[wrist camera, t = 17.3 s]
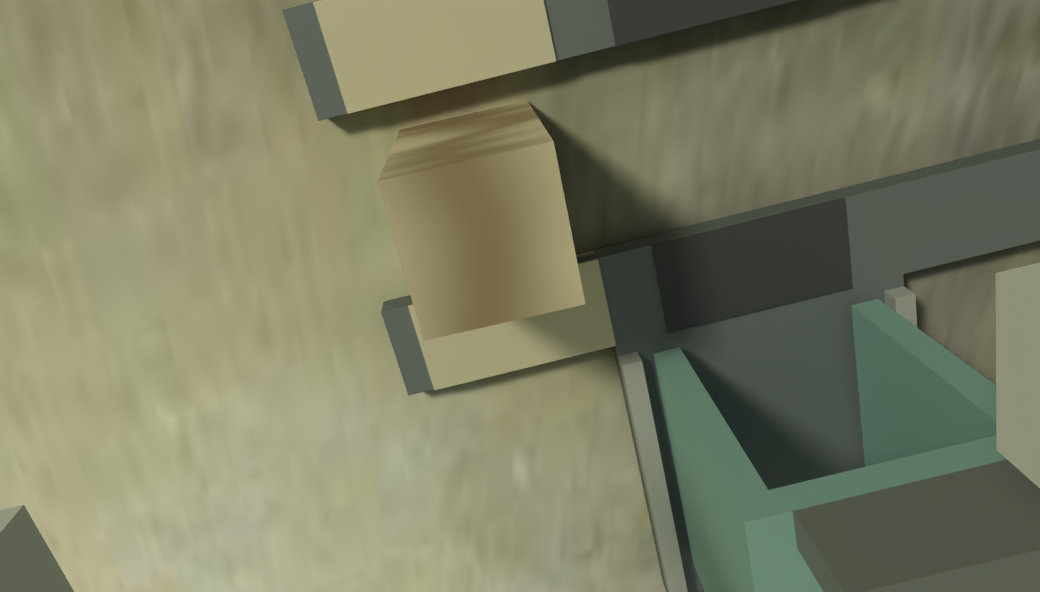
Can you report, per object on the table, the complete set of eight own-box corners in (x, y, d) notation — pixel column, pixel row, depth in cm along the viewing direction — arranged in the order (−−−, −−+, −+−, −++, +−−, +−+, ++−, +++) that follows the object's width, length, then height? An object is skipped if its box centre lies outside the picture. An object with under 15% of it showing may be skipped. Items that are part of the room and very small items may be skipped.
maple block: (526, 100, 27) (553, 141, 20) (552, 223, 29) (585, 304, 21) (399, 129, 27) (377, 181, 20) (432, 251, 29) (423, 341, 21)
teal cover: (877, 298, 29) (1175, 517, 17) (893, 516, 33) (1147, 823, 21) (653, 353, 29) (790, 609, 17) (693, 563, 33) (829, 896, 21)
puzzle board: (1110, -200, 25) (1157, -214, 23) (1084, 481, 35) (1115, 506, 33) (288, 9, 26) (276, 10, 24) (488, 624, 35) (490, 656, 34)
